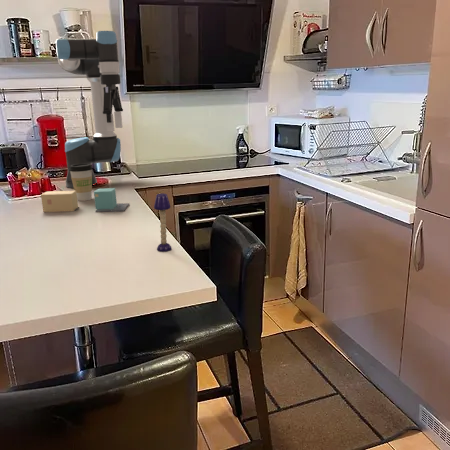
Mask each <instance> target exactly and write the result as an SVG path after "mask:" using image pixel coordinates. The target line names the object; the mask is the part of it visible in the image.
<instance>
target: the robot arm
mask: <svg viewBox="0 0 450 450" xmlns="http://www.w3.org/2000/svg"><path fill="white" fill-rule="evenodd" d="M95 35H96V38H57V39H56V40H55V48H56V56H57V62H58V64H59V66H60V68H61V69H62V70H63V71H65V72H67V73H70V74H73V75H78V76H79V75H81V76H82V75H83V76H84V75H85V77H86V78H85V79H86V80H87V81H88V82H89V83H90V93H91V101H92V110H93V121H94V131H95V132H94V134H93V135H92V139H90V138H89V137H78V138H73V139H69V140H66V142H64V152H65V160H66V167H67V173H66V174H67V175H66V179H65V187H66V188H69V189H70V188H72V189H74V187H73V183H72V179H71V173H70V171H69V169H70V166H71V165H75V164H90V165H91V167H92V168H93V166H92V164H103V163H112V162H118V161H119V160H120V158H121V149H122V148H121V138H119V137H117V134H116V133H115V128H116V129H118V128H119V129H122V128H123V118H122V112H124V109H123V106H122V102H121V97H120V91H119V86H116V85H120V84H121V75H120V74H119V73H120V62H119V52H118V39H117V33H116V31H114V30H99V31H96V34H95ZM113 109H114V112H113ZM95 183H97V184H98V180H97V177H96V175H95V173H94V170H93V169H92V185H93V184H95Z"/></svg>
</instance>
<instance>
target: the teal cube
mask: <svg viewBox="0 0 450 450" xmlns="http://www.w3.org/2000/svg"><path fill="white" fill-rule="evenodd" d="M93 196H94V207H95V210H97V209H114V208H115V207H116V205H117V204H118V203H117V202H118V201H117V192H116V187H109V188H107V187H106V188H97V189H96V190H94V191H93Z"/></svg>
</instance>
